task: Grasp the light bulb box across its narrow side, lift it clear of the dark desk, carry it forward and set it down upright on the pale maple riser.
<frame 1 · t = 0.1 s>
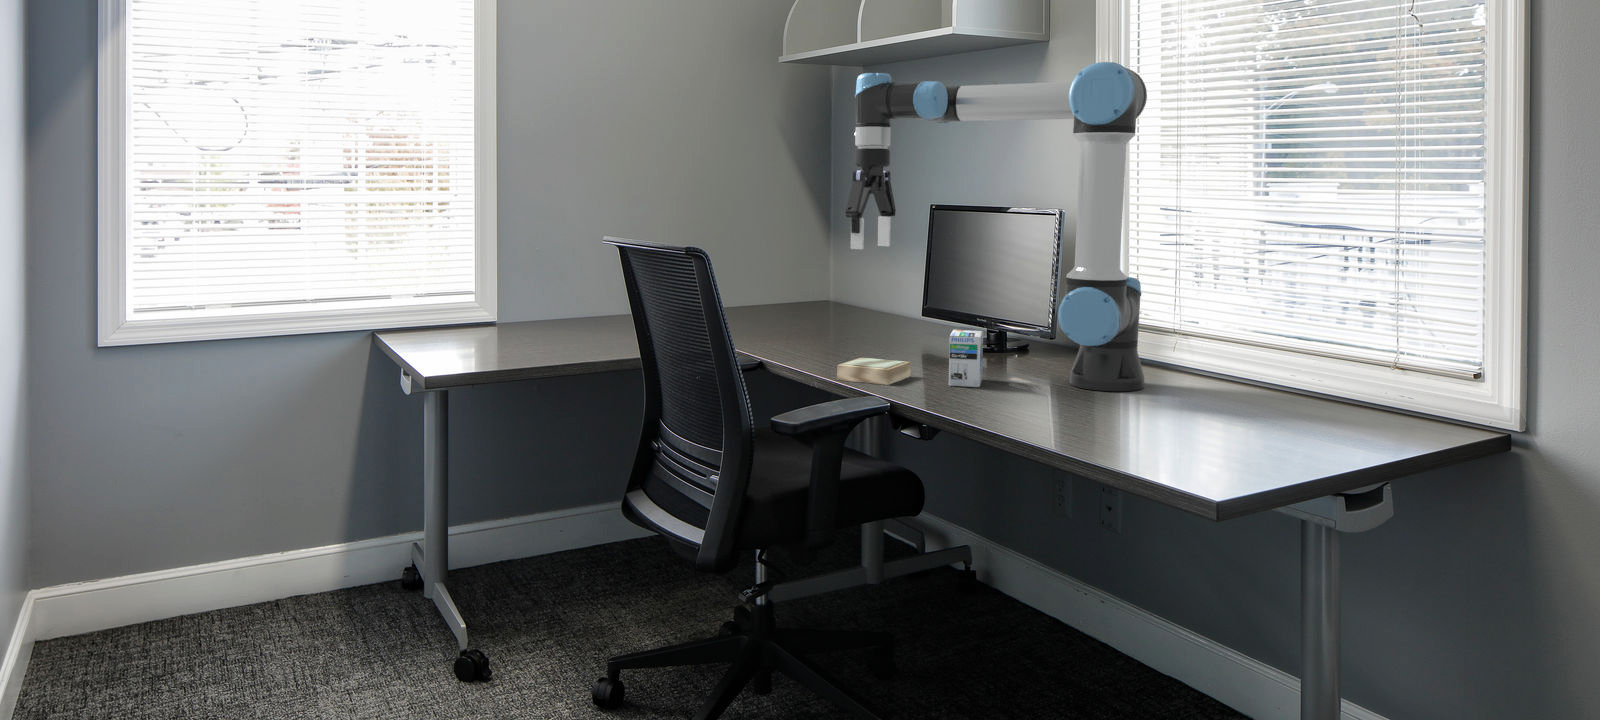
hand: (870, 247, 243), 28 cm above the table, fingers open, 13 cm apart
maple riser: (874, 378, 242), on the table
light bulb box: (965, 383, 238), on the table
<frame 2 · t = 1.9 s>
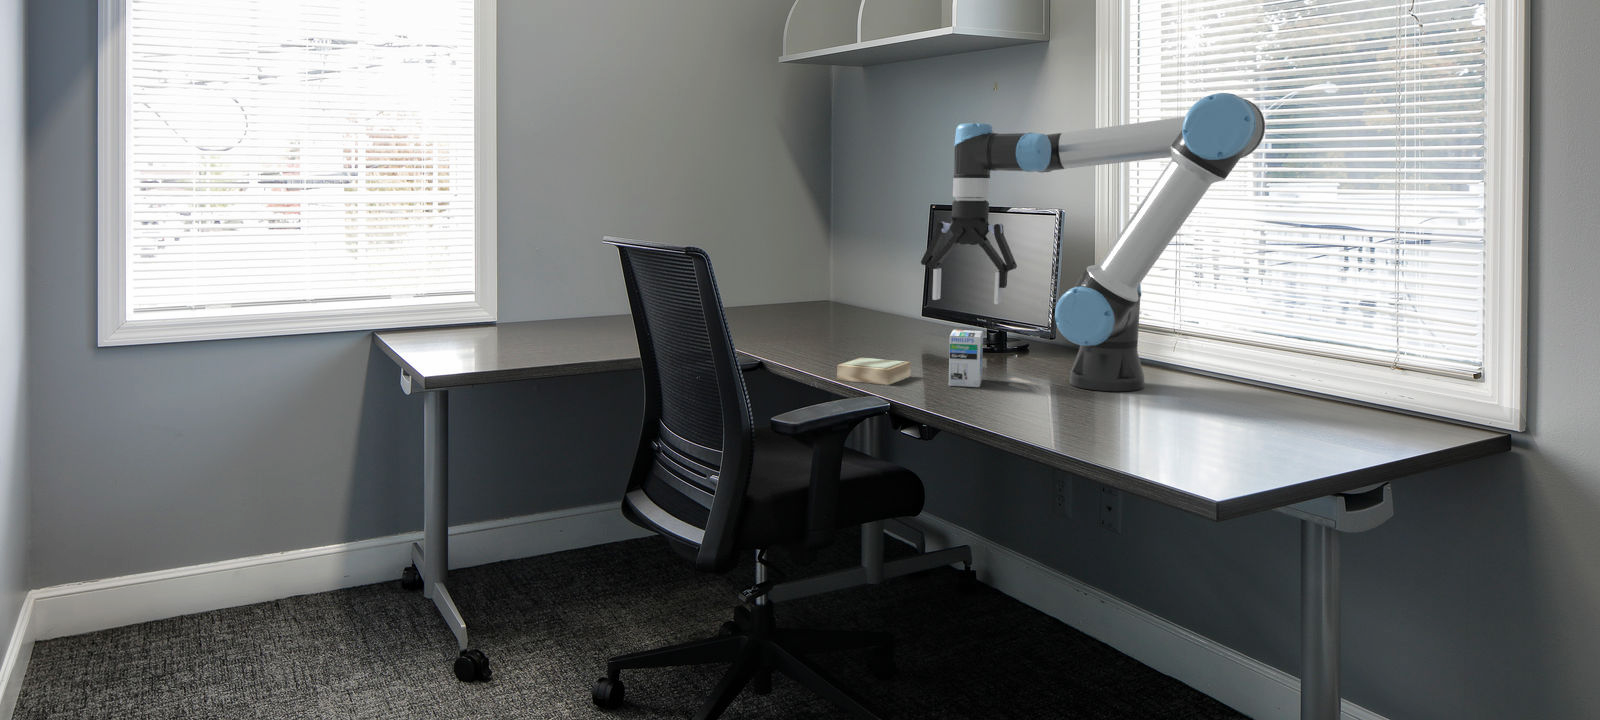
hand: (966, 301, 235), 17 cm above the table, fingers open, 13 cm apart
nothing on the table moved.
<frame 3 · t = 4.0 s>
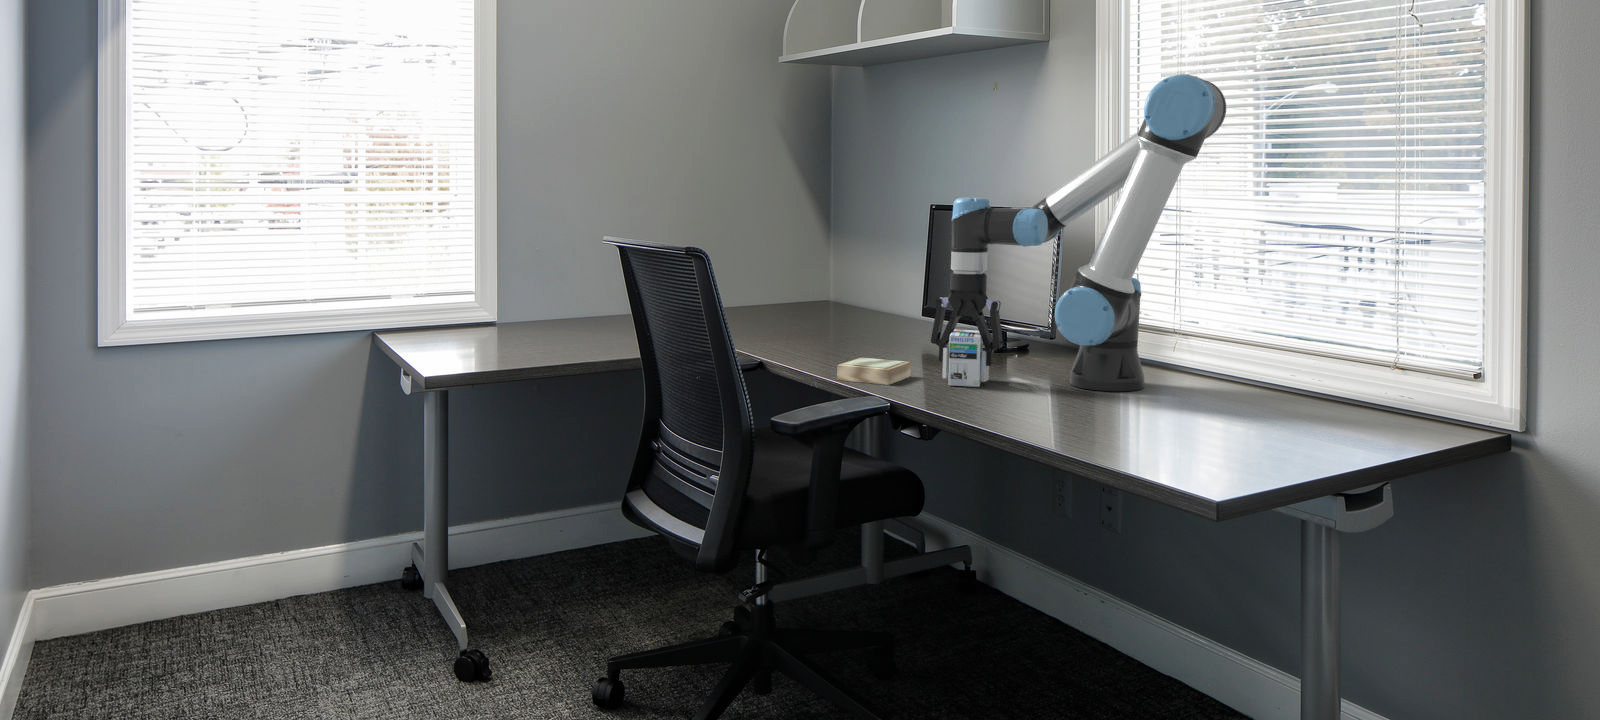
hand: (965, 378, 238), 1 cm above the table, fingers closed on light bulb box, 8 cm apart
light bulb box: (965, 383, 238), on the table, touching gripper
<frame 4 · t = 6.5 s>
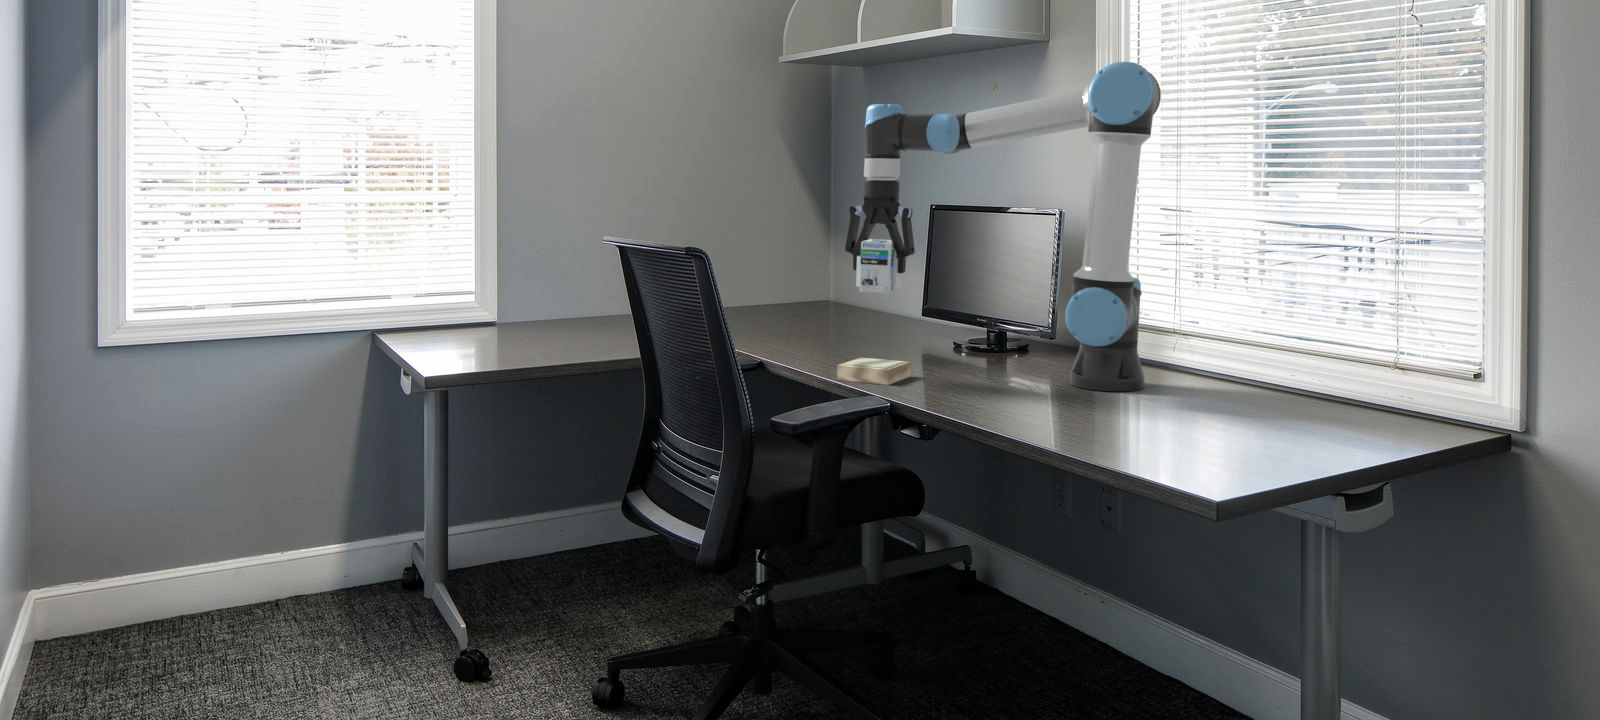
hand: (878, 287, 239), 20 cm above the table, fingers closed on light bulb box, 8 cm apart
light bulb box: (878, 291, 240), point 19 cm above the table, touching gripper
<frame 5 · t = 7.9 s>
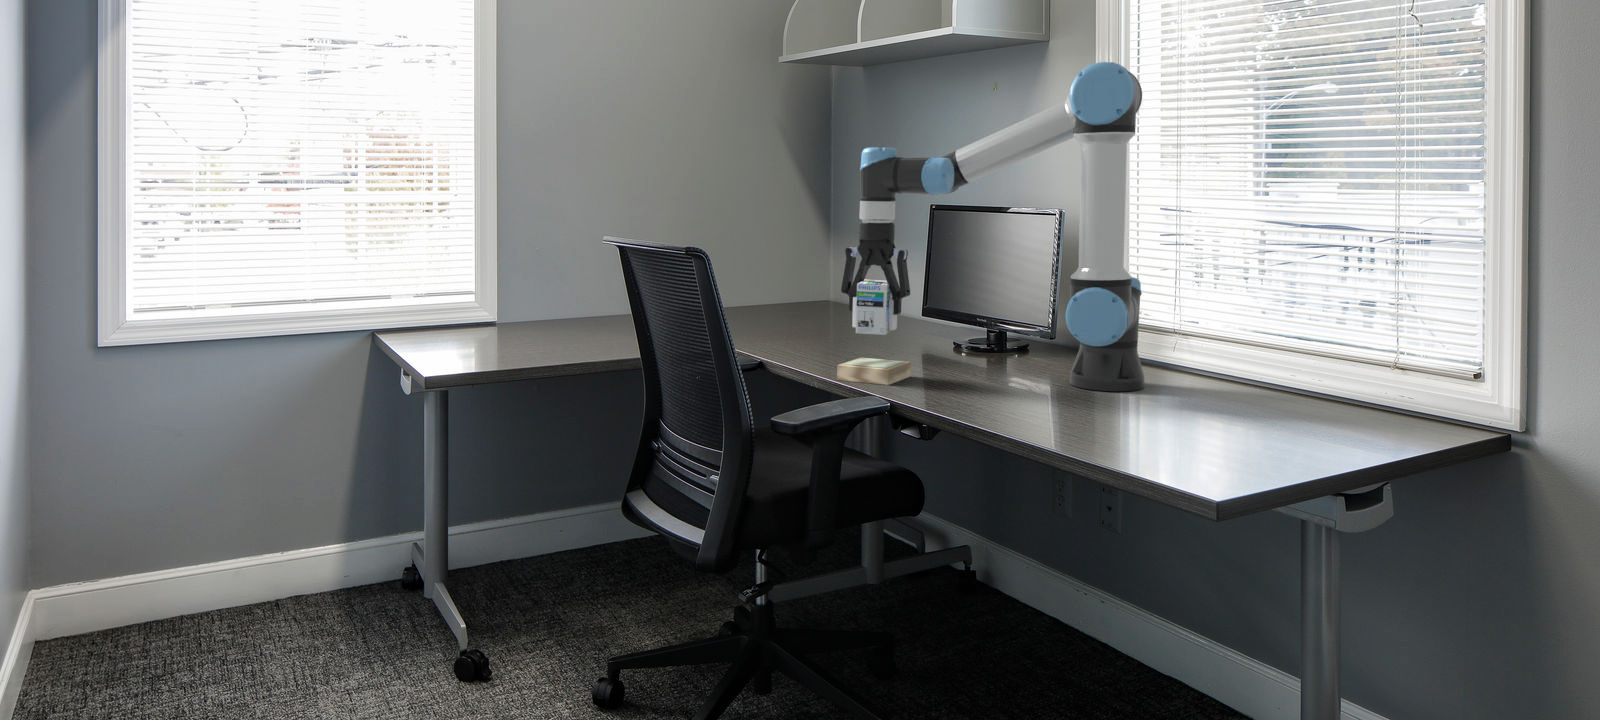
hand: (874, 327, 241), 11 cm above the table, fingers closed on light bulb box, 8 cm apart
light bulb box: (874, 332, 241), point 10 cm above the table, touching gripper
when the fingers open (6 cm above the table, at t = 9.1 s): light bulb box drops 1 cm, resting on maple riser.
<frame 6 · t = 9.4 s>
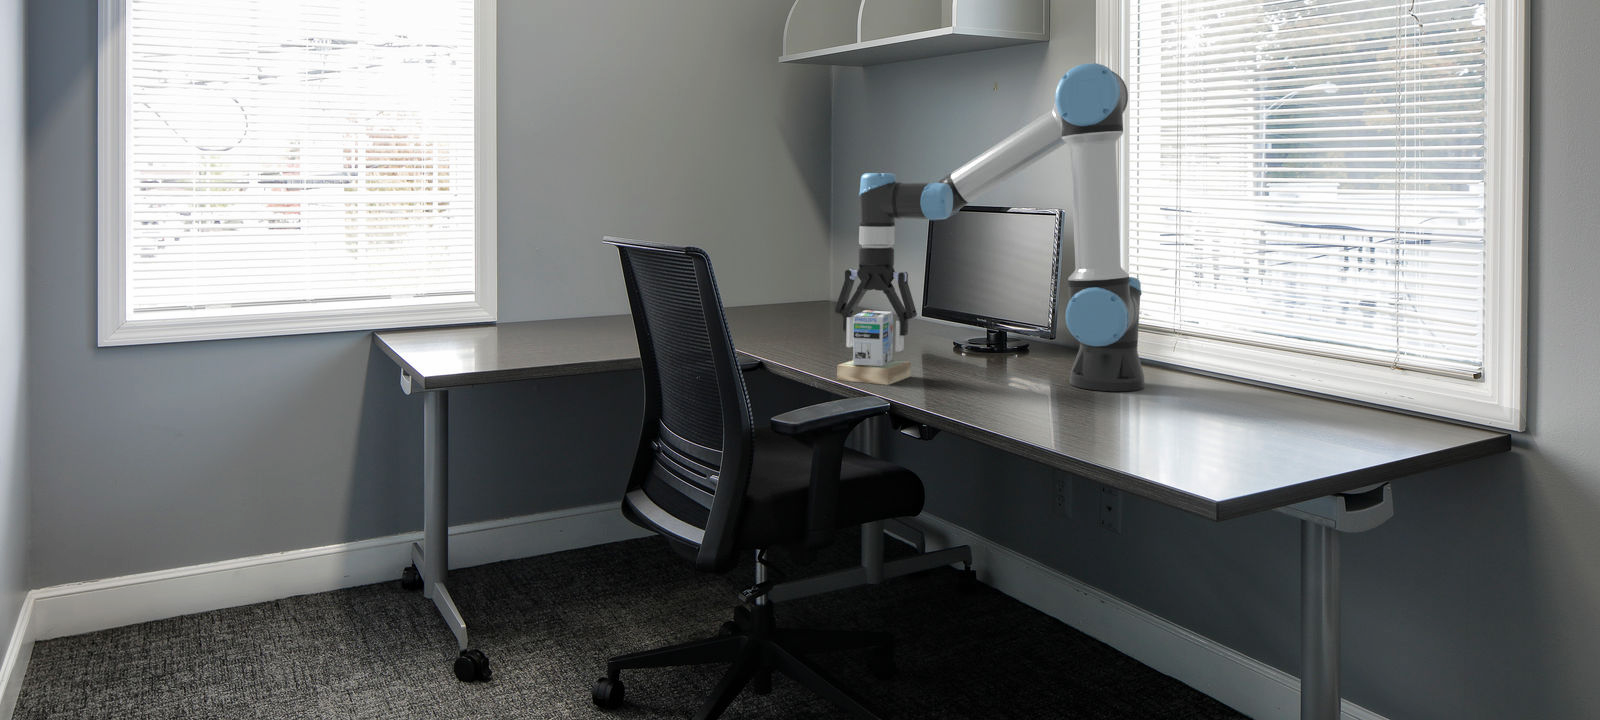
hand: (874, 348, 241), 6 cm above the table, fingers open, 11 cm apart
light bulb box: (872, 363, 242), point 3 cm above the table, touching maple riser
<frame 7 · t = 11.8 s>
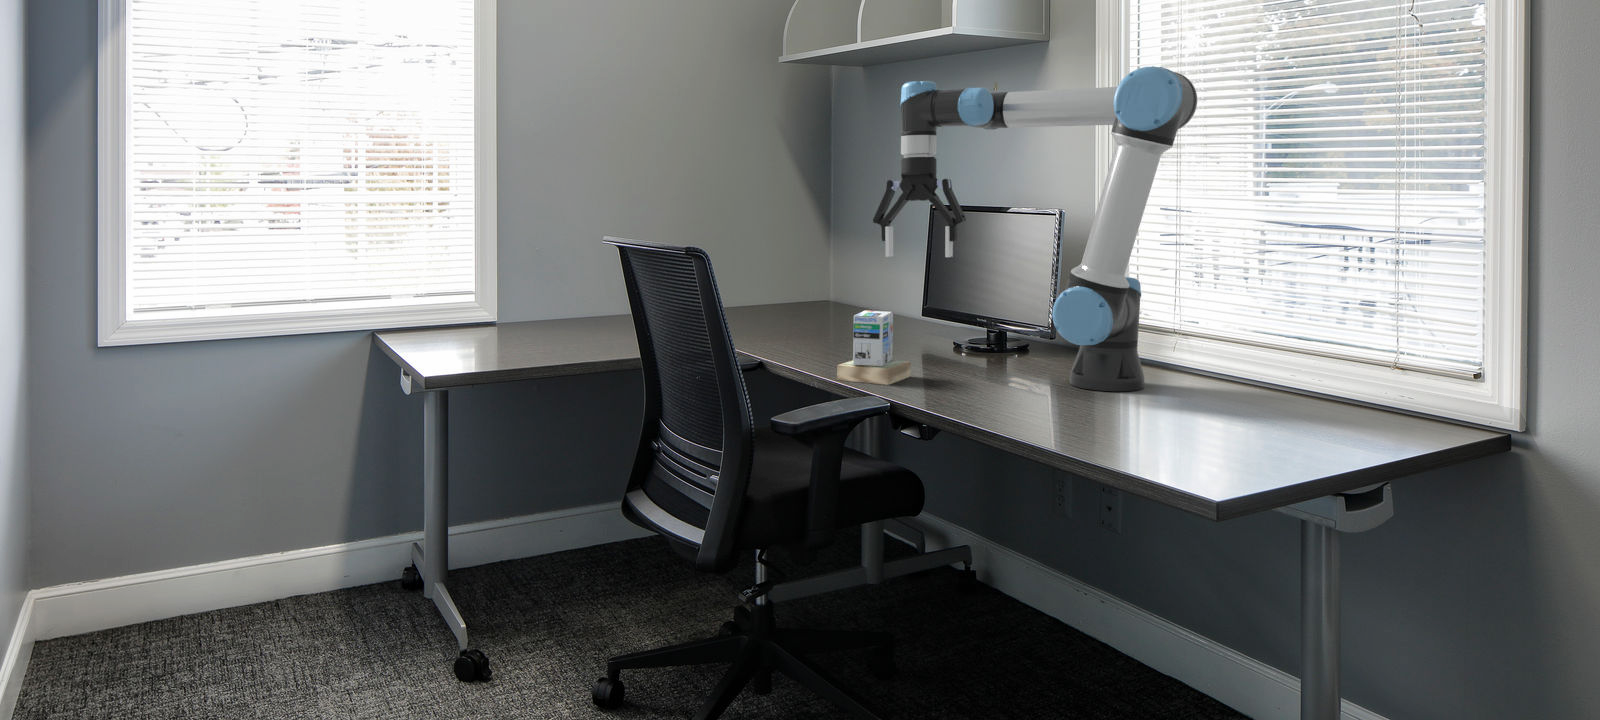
hand: (918, 256, 241), 26 cm above the table, fingers open, 13 cm apart
nothing on the table moved.
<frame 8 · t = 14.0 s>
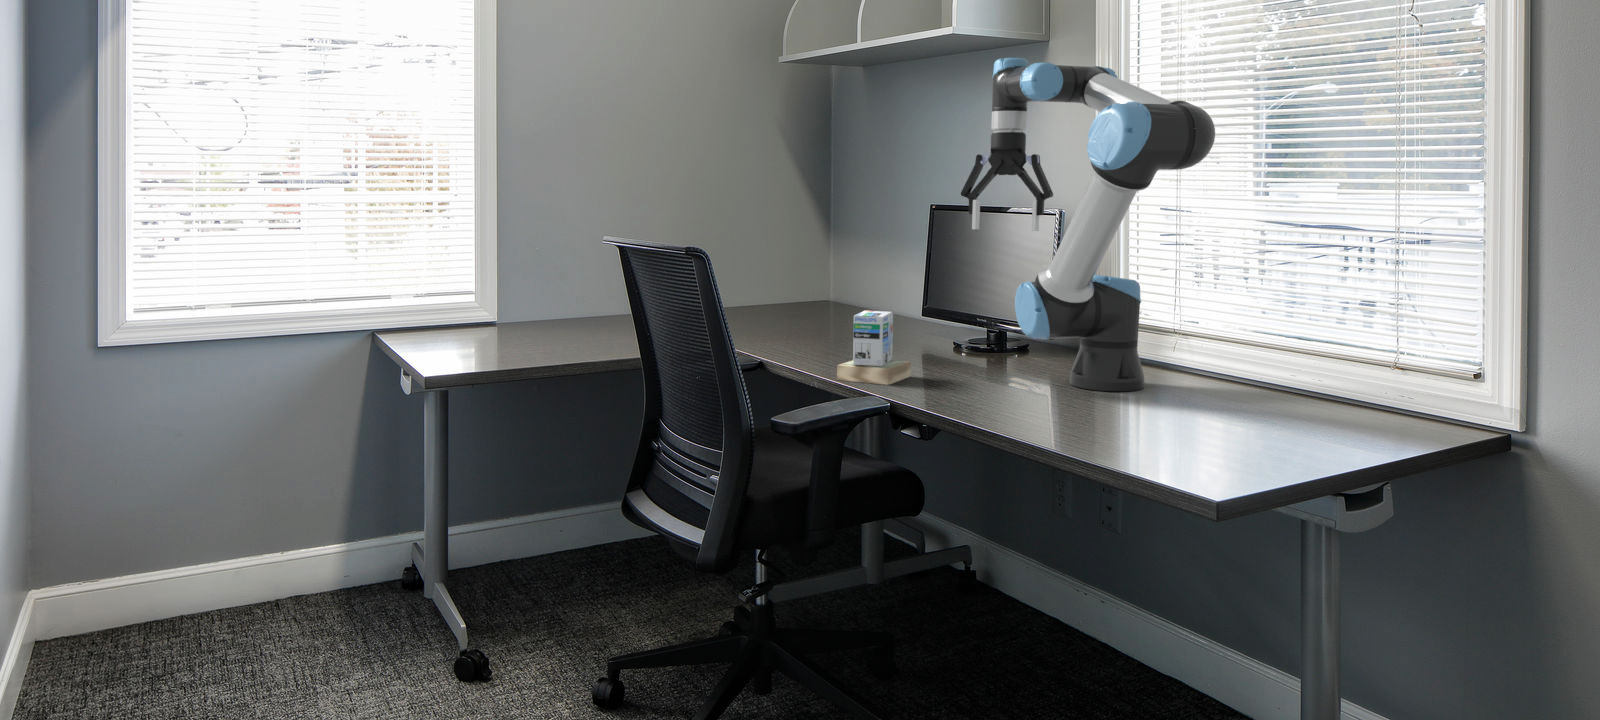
hand: (1004, 230, 247), 32 cm above the table, fingers open, 13 cm apart
nothing on the table moved.
at the end: light bulb box inside the target area on the maple riser (0.4 cm from its centre), point 3.2 cm above the maple riser's base; light bulb box tilted 0°; the gripper is holding nothing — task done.
